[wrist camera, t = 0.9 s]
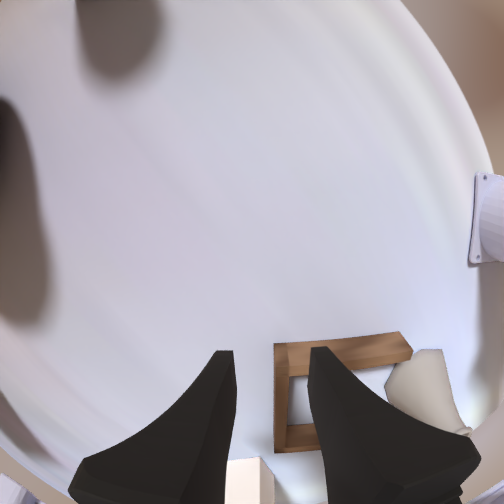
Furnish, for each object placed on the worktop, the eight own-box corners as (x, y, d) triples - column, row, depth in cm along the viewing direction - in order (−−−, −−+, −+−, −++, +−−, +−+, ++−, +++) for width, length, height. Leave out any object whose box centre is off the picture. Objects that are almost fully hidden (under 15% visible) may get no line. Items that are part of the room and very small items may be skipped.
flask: (448, 338, 22) (503, 399, 12) (434, 388, 24) (472, 449, 14) (387, 357, 22) (433, 436, 13) (379, 407, 24) (408, 479, 15)
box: (398, 331, 21) (413, 350, 18) (372, 419, 25) (380, 438, 22) (273, 343, 22) (275, 366, 19) (273, 431, 25) (274, 453, 22)
